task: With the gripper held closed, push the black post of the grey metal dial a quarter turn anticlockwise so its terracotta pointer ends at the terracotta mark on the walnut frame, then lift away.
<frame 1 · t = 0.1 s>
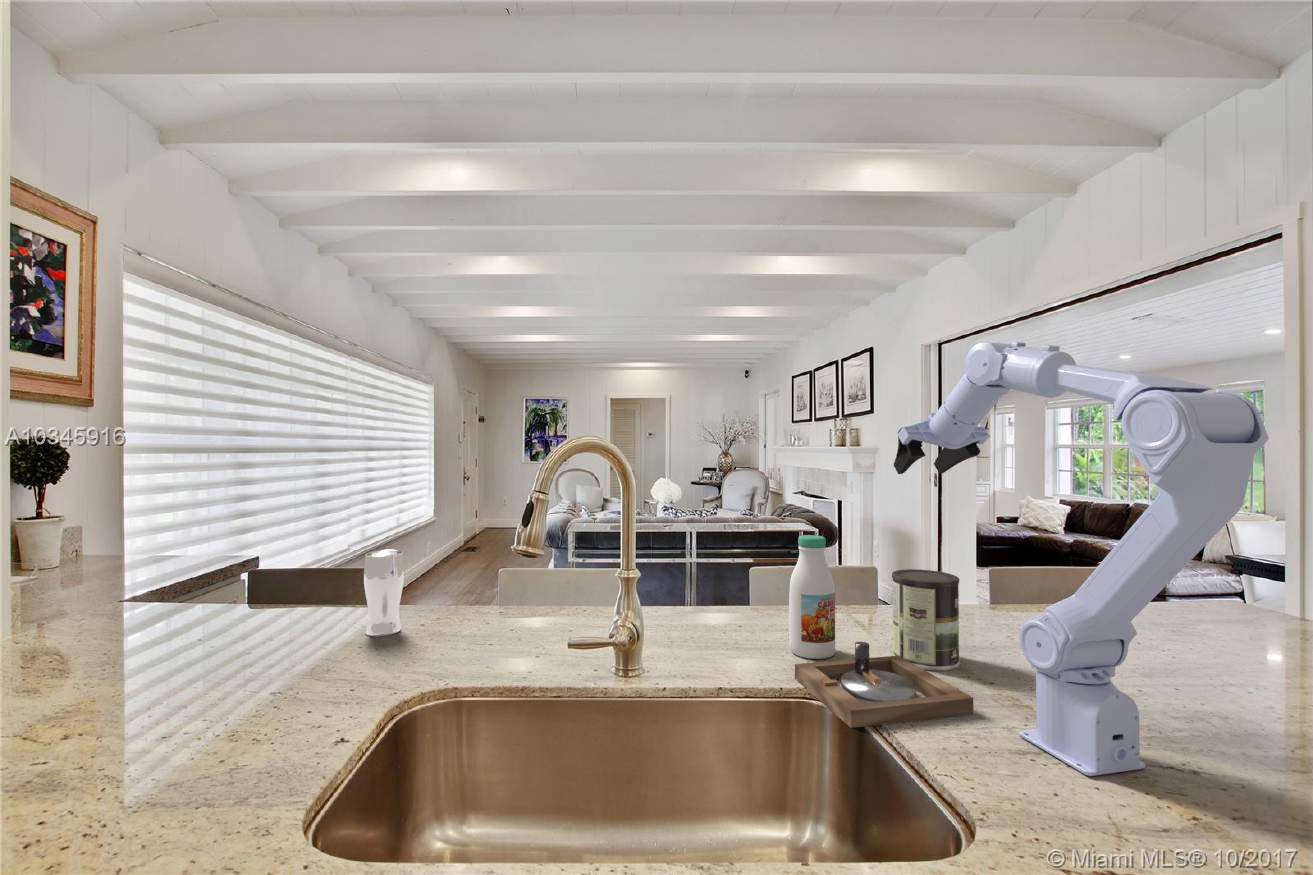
hand: (918, 469, 97), 32 cm above the worktop, tool tilted 50°, fingers open, 7 cm apart
dial: (877, 673, 84), point 3 cm above the worktop, hinge at 0.0°
frame: (877, 695, 84), on the worktop
beer glass: (383, 632, 111), on the worktop
coffee can: (925, 660, 98), on the worktop
milk bottle: (811, 653, 101), on the worktop
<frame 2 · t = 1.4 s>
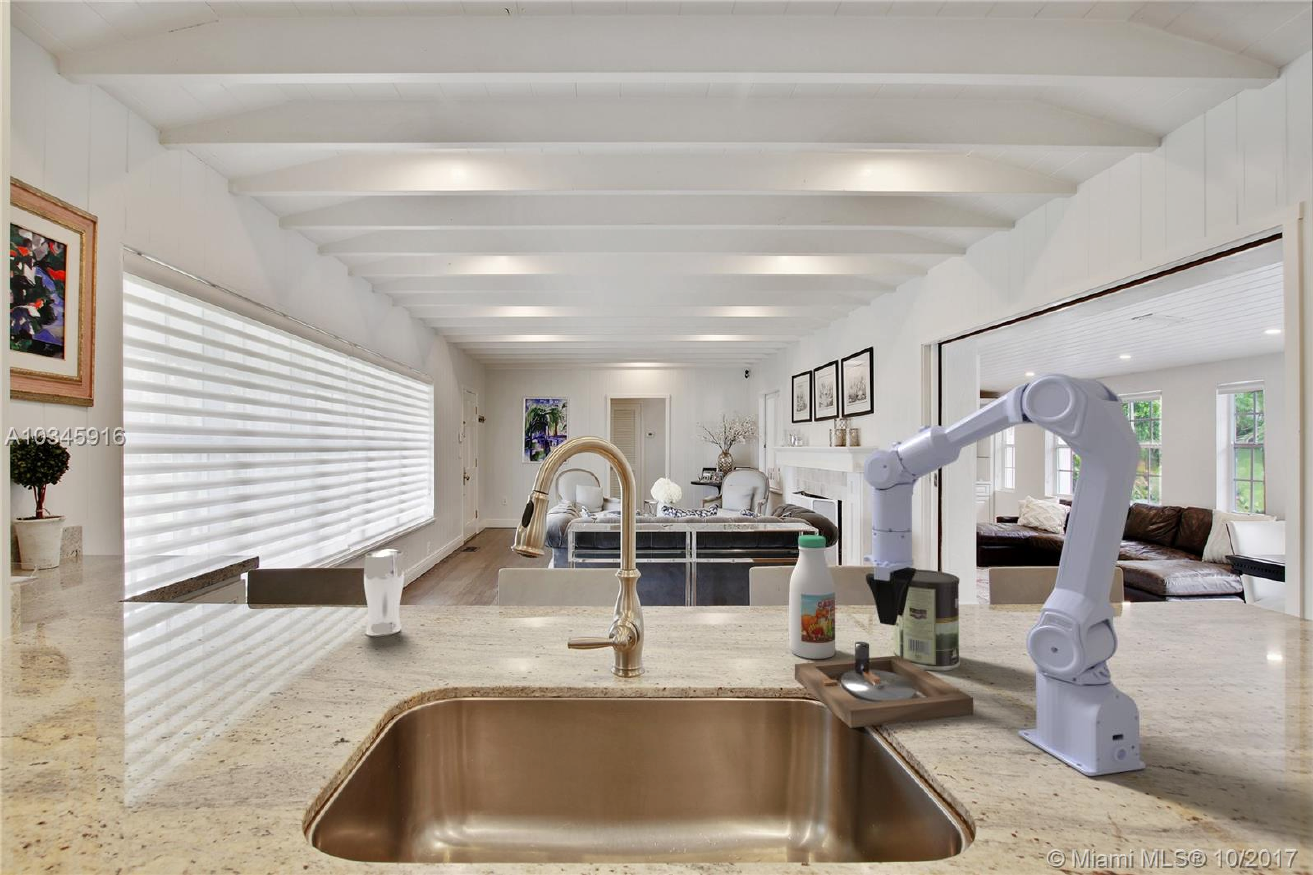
hand: (891, 619, 89), 9 cm above the worktop, tool pointing down, fingers open, 5 cm apart
nothing on the worktop moved.
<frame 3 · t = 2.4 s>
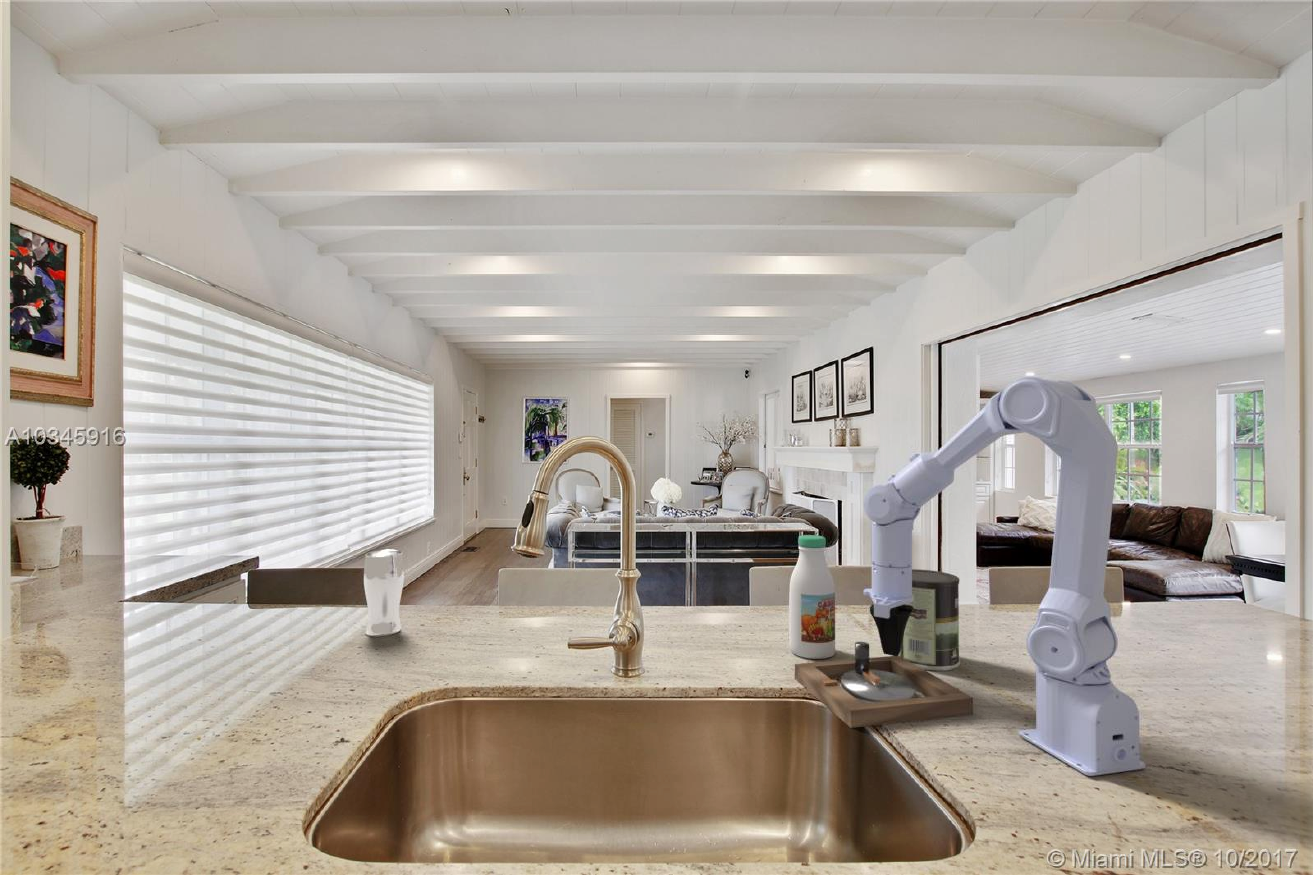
hand: (891, 653, 89), 4 cm above the worktop, tool pointing down, fingers closed
nothing on the worktop moved.
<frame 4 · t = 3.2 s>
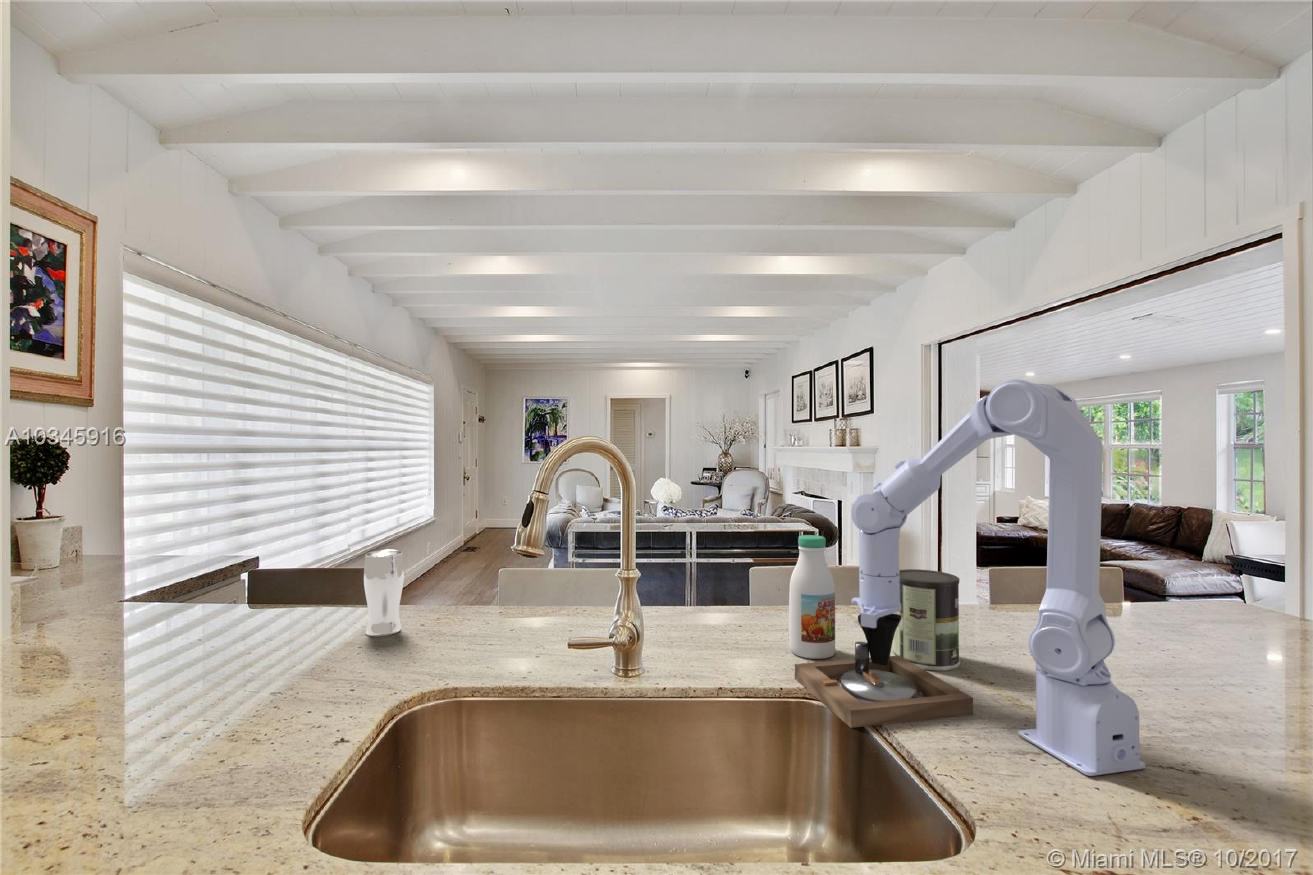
hand: (879, 663, 88), 3 cm above the worktop, tool pointing down, fingers closed
dial: (877, 673, 84), point 3 cm above the worktop, hinge at 0.1°, touching gripper
everything else where it was.
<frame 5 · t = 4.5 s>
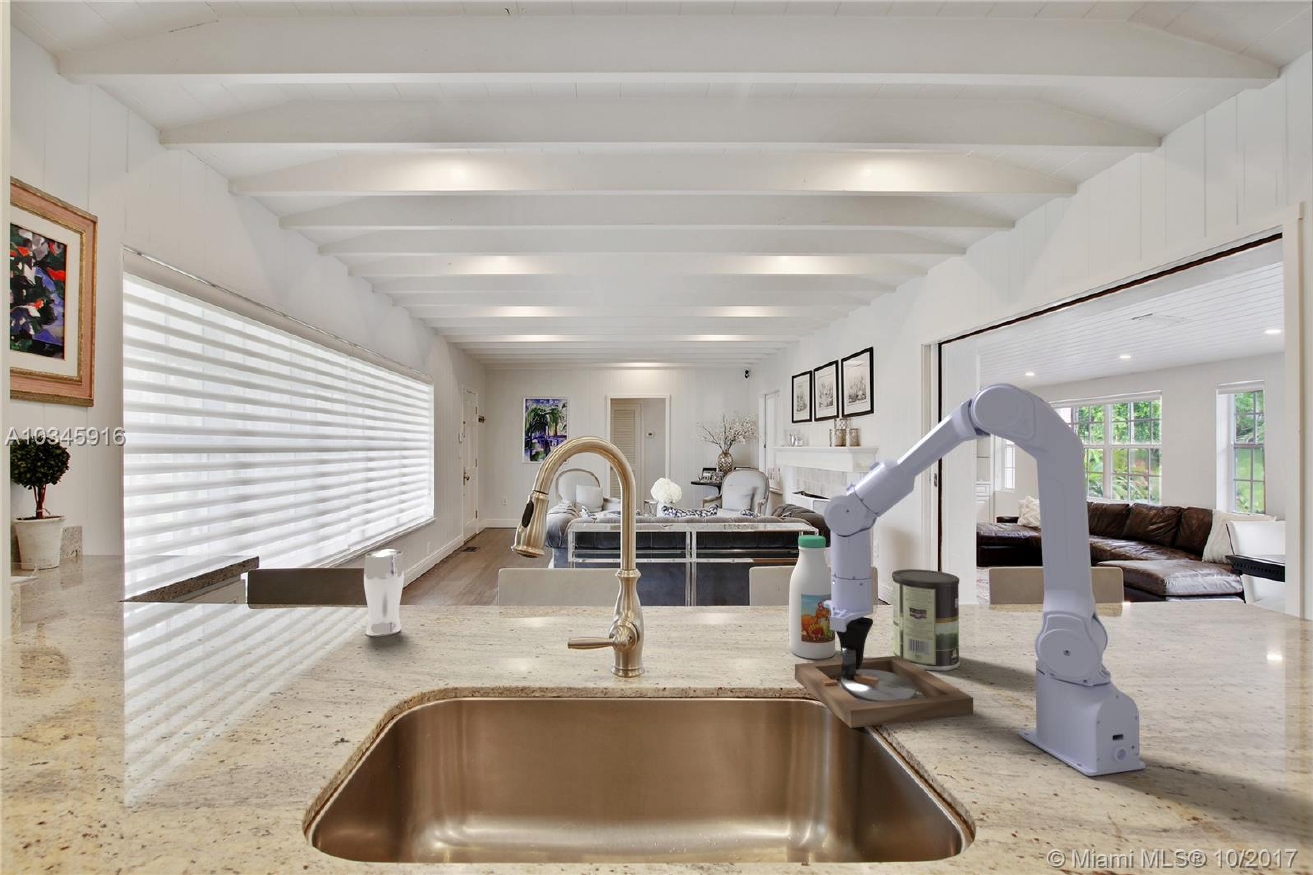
hand: (852, 667, 87), 3 cm above the worktop, tool pointing down, fingers closed, pressing on dial
dial: (877, 673, 84), point 3 cm above the worktop, hinge at 48.5°, touching gripper
everything else where it was.
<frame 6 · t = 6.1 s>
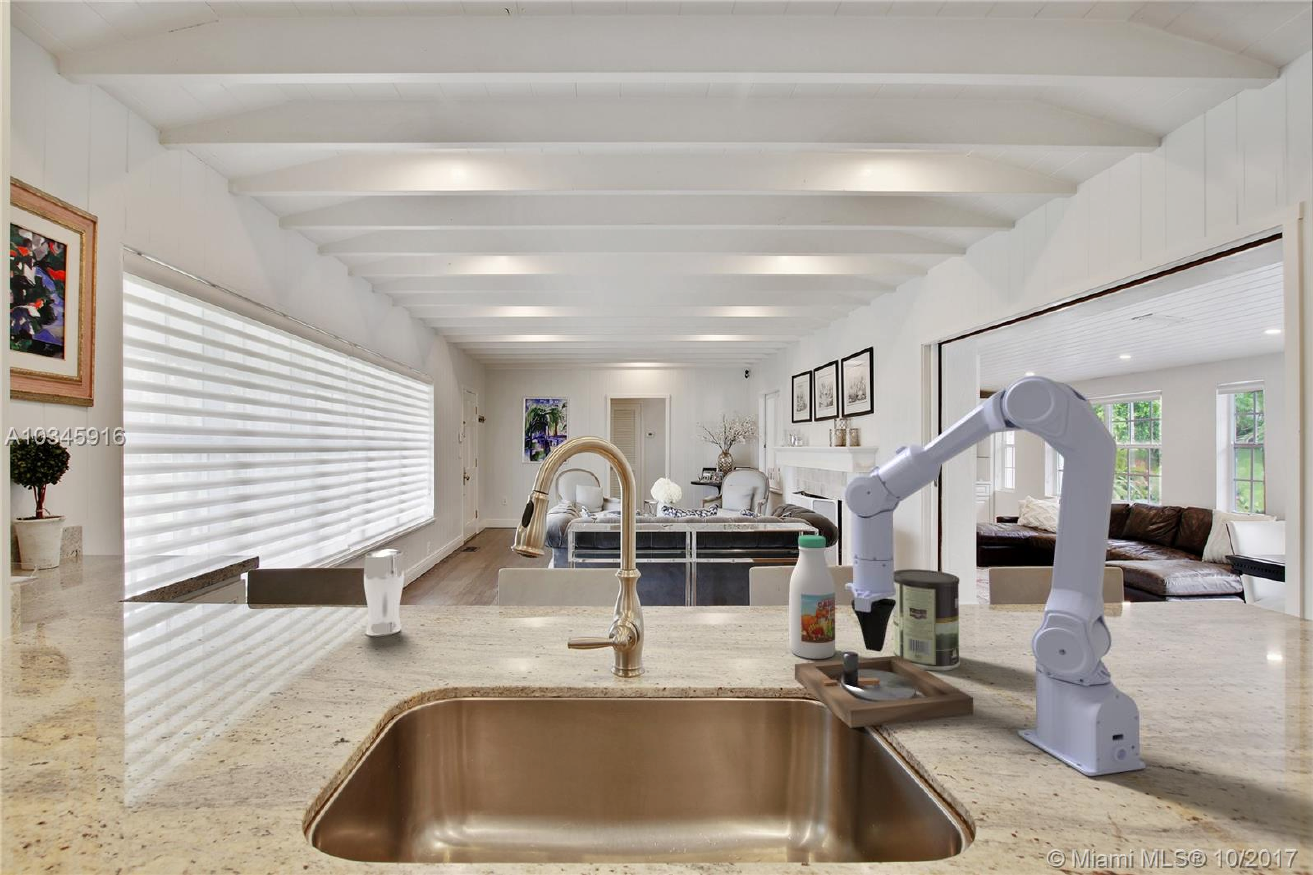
hand: (874, 649, 87), 6 cm above the worktop, tool pointing down, fingers closed
dial: (877, 673, 84), point 3 cm above the worktop, hinge at 82.8°
everything else where it was.
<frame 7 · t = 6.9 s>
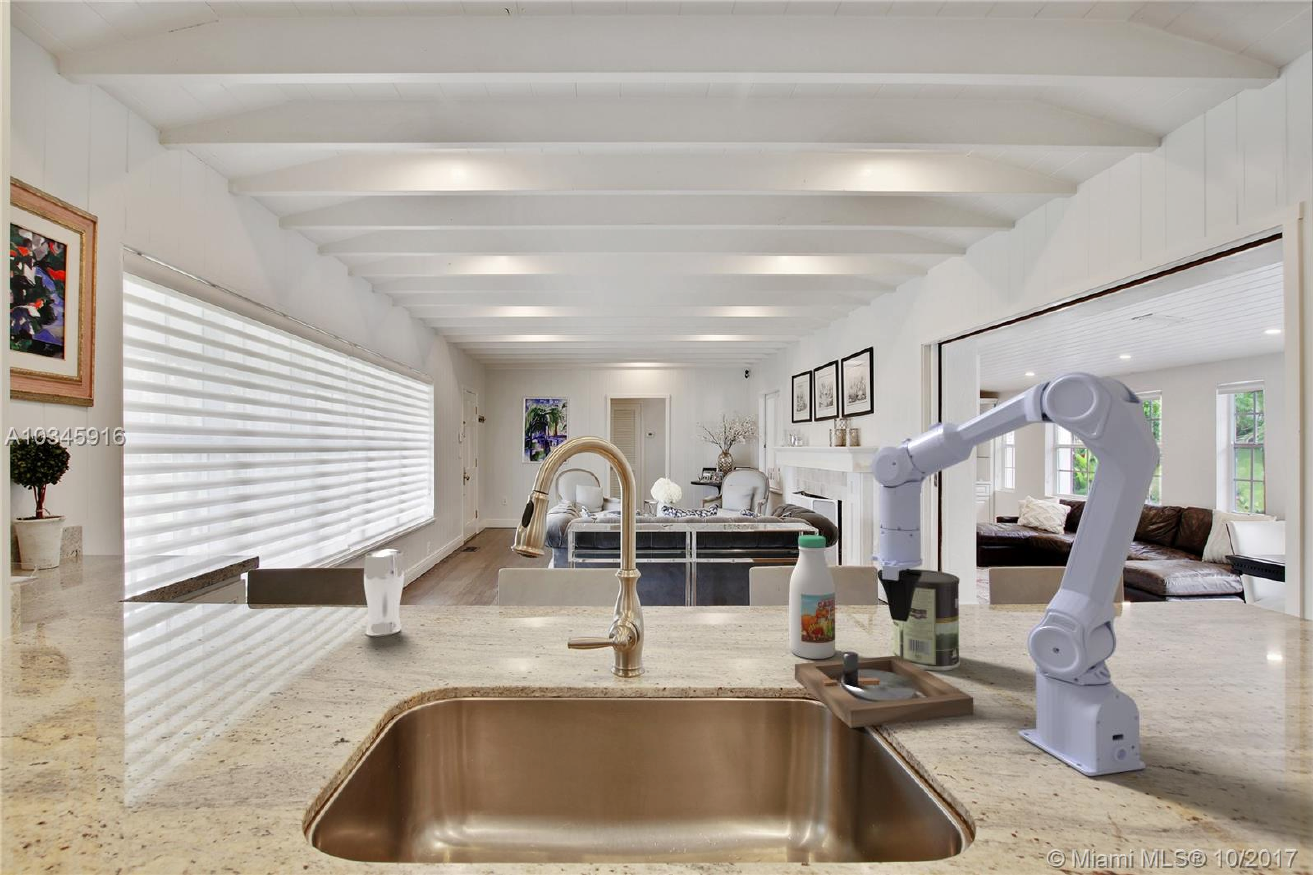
hand: (899, 619, 87), 10 cm above the worktop, tool pointing down, fingers closed
nothing on the worktop moved.
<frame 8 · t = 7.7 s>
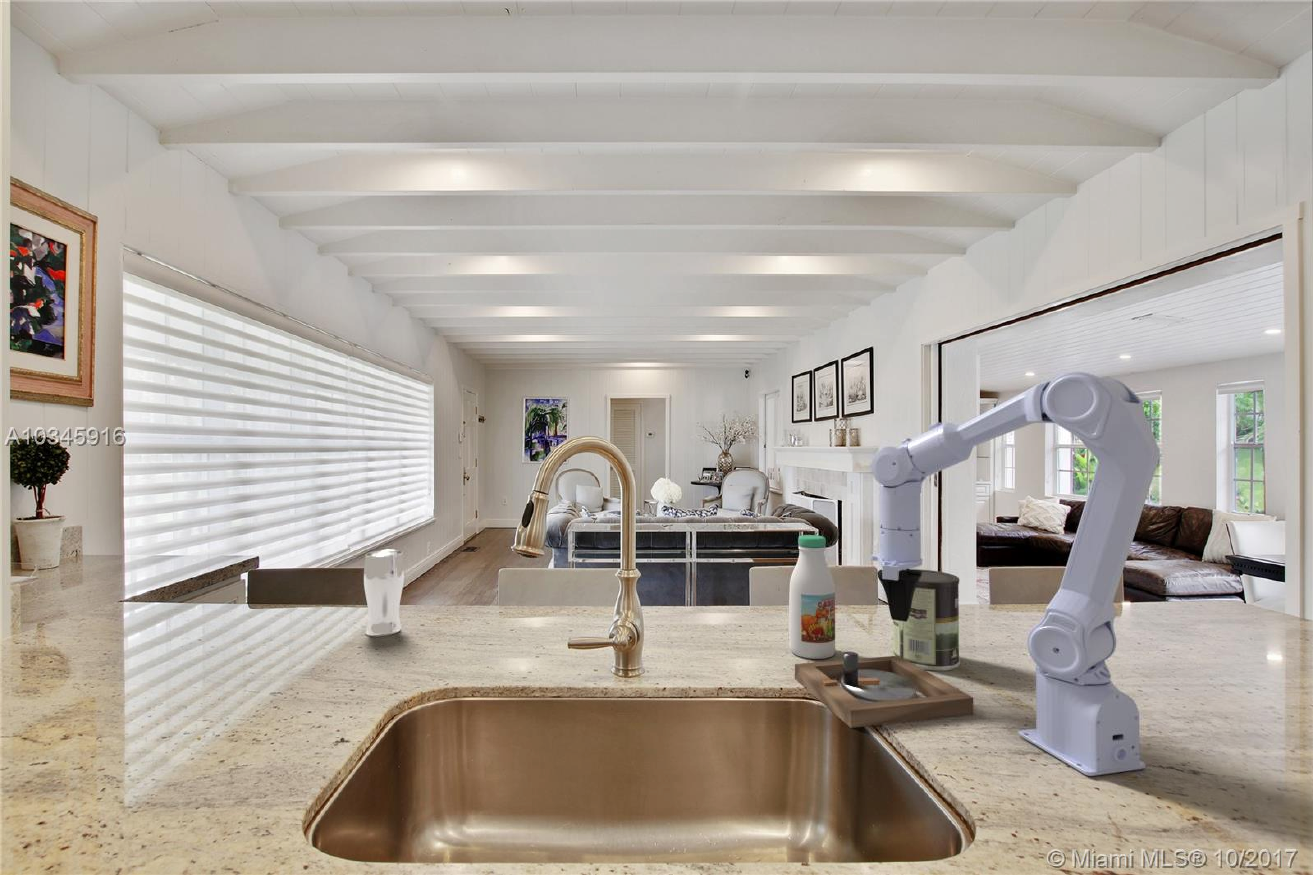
hand: (899, 619, 87), 10 cm above the worktop, tool pointing down, fingers closed
nothing on the worktop moved.
at the end: dial at +83° (first picture: +0°) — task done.
